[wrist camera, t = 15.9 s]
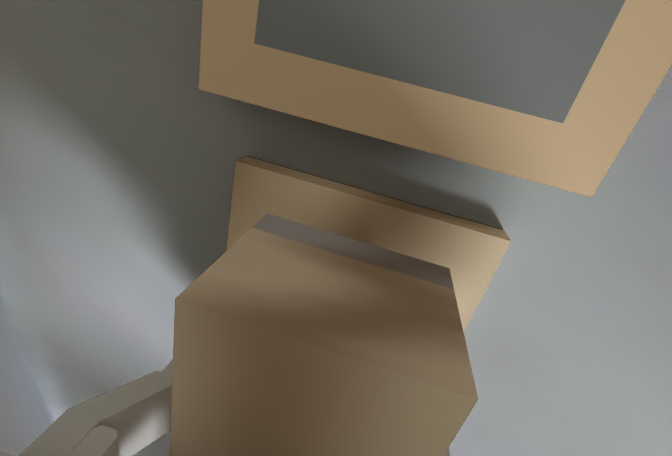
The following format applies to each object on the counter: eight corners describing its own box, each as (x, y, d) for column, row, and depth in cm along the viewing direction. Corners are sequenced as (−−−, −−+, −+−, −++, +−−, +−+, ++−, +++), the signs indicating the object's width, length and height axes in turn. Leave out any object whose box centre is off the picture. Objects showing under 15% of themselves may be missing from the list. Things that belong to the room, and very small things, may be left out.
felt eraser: (449, 268, 9) (478, 399, 5) (359, 468, 13) (339, 624, 9) (267, 213, 9) (175, 298, 6) (233, 423, 13) (166, 555, 9)
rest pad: (504, 230, 11) (511, 241, 10) (400, 437, 16) (400, 454, 15) (246, 155, 12) (235, 160, 11) (220, 374, 16) (212, 388, 16)
